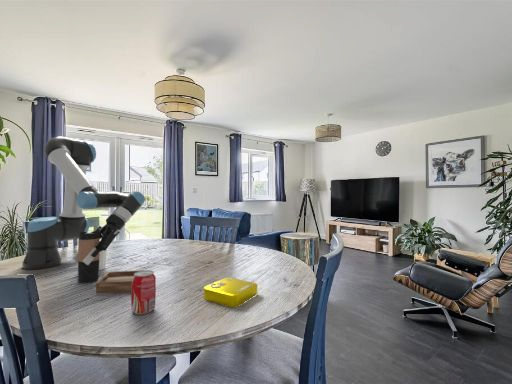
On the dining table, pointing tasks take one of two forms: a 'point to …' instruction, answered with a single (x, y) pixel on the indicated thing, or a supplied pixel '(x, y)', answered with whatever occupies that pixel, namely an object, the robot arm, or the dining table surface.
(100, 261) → the candle holder
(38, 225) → the robot arm
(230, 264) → the dining table surface
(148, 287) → the soda can
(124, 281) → the tray
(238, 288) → the element tile
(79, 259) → the travel mug
